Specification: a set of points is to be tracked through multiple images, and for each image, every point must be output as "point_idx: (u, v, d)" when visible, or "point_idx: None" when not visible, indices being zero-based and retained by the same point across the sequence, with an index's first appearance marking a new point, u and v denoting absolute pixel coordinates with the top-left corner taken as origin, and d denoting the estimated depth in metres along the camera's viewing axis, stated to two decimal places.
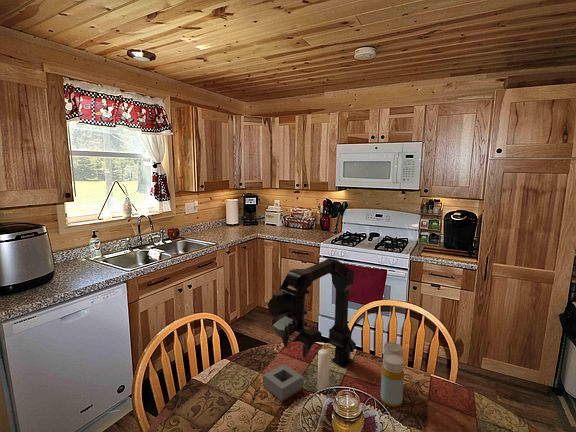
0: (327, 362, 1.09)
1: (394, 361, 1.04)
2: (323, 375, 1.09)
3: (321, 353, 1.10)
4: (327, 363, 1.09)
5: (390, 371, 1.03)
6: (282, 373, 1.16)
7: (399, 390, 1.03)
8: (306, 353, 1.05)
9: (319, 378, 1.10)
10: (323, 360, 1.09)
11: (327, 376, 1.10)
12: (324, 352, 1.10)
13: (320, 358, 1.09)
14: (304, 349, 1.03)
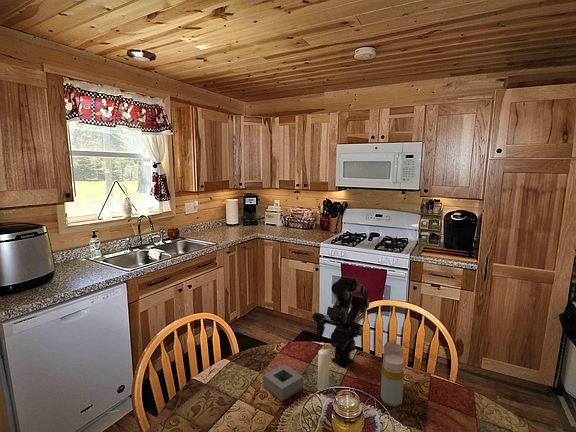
0: (327, 362, 1.09)
1: (394, 361, 1.04)
2: (323, 375, 1.09)
3: (321, 353, 1.10)
4: (327, 363, 1.09)
5: (390, 371, 1.03)
6: (282, 373, 1.16)
7: (399, 390, 1.03)
8: (345, 345, 1.14)
9: (319, 378, 1.10)
10: (323, 360, 1.09)
11: (327, 376, 1.10)
12: (324, 352, 1.10)
13: (320, 358, 1.09)
14: (346, 339, 1.14)
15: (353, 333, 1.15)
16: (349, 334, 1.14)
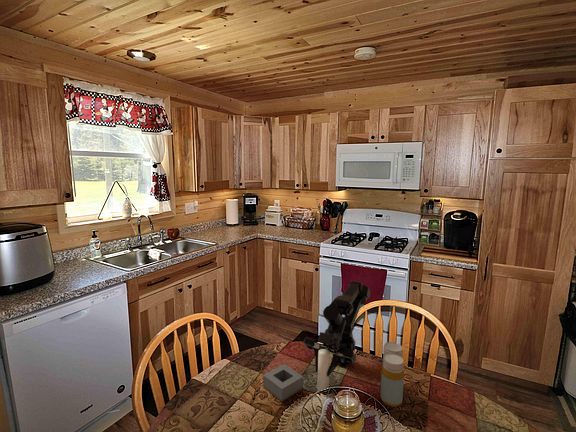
0: (327, 362, 1.09)
1: (394, 361, 1.04)
2: (323, 375, 1.09)
3: (321, 353, 1.10)
4: (327, 363, 1.09)
5: (390, 371, 1.03)
6: (282, 373, 1.16)
7: (399, 390, 1.03)
8: (331, 371, 1.10)
9: (319, 378, 1.10)
10: (323, 359, 1.09)
11: (327, 376, 1.10)
12: (324, 352, 1.10)
13: (320, 358, 1.09)
14: (332, 365, 1.10)
15: (339, 358, 1.11)
16: (335, 360, 1.10)
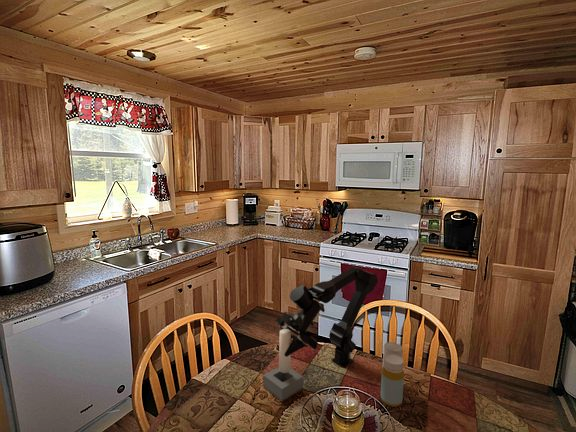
0: (285, 342, 1.08)
1: (394, 361, 1.04)
2: (281, 354, 1.09)
3: (281, 332, 1.10)
4: (285, 343, 1.08)
5: (390, 371, 1.03)
6: (282, 373, 1.16)
7: (399, 390, 1.03)
8: (289, 352, 1.08)
9: (279, 357, 1.10)
10: (281, 338, 1.08)
11: None
12: (285, 332, 1.10)
13: (279, 336, 1.09)
14: (291, 346, 1.08)
15: (299, 341, 1.08)
16: (294, 341, 1.08)
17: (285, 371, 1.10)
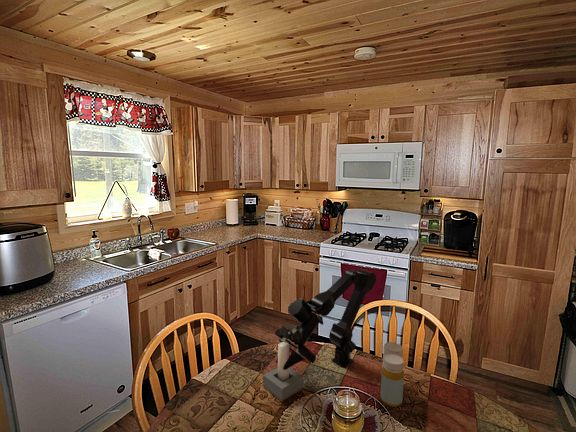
0: (284, 355, 1.09)
1: (394, 361, 1.04)
2: (280, 367, 1.10)
3: (280, 345, 1.10)
4: (284, 356, 1.09)
5: (390, 371, 1.03)
6: None
7: (399, 390, 1.03)
8: (288, 366, 1.09)
9: (278, 370, 1.11)
10: (280, 352, 1.09)
11: None
12: (283, 345, 1.11)
13: (278, 350, 1.10)
14: (289, 359, 1.09)
15: (297, 355, 1.09)
16: (293, 355, 1.09)
17: None
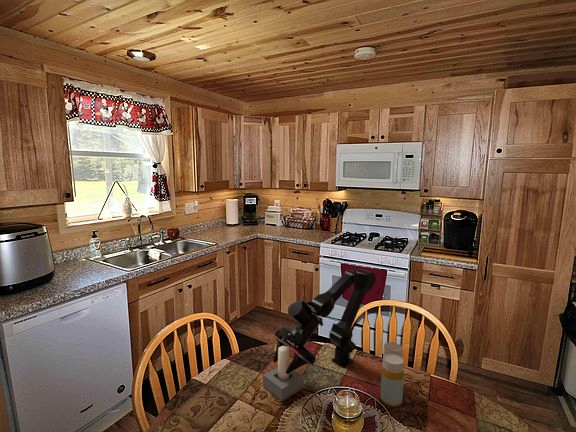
0: (284, 359, 1.09)
1: (394, 361, 1.04)
2: (280, 371, 1.10)
3: (280, 349, 1.11)
4: (284, 360, 1.09)
5: (390, 371, 1.03)
6: None
7: (399, 390, 1.03)
8: (290, 369, 1.08)
9: (278, 373, 1.12)
10: (280, 356, 1.10)
11: (284, 373, 1.10)
12: (284, 349, 1.11)
13: (278, 353, 1.10)
14: (292, 363, 1.08)
15: (300, 359, 1.07)
16: (295, 359, 1.07)
17: None
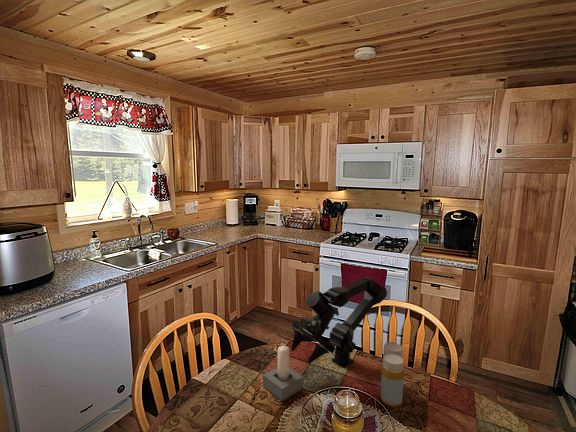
0: (283, 359, 1.09)
1: (394, 361, 1.04)
2: (280, 371, 1.10)
3: (279, 349, 1.11)
4: (283, 360, 1.09)
5: (390, 371, 1.03)
6: None
7: (399, 390, 1.03)
8: (312, 359, 1.11)
9: None
10: (279, 356, 1.10)
11: (284, 373, 1.10)
12: (283, 349, 1.11)
13: (278, 354, 1.10)
14: (314, 353, 1.11)
15: (322, 349, 1.11)
16: (317, 349, 1.11)
17: None
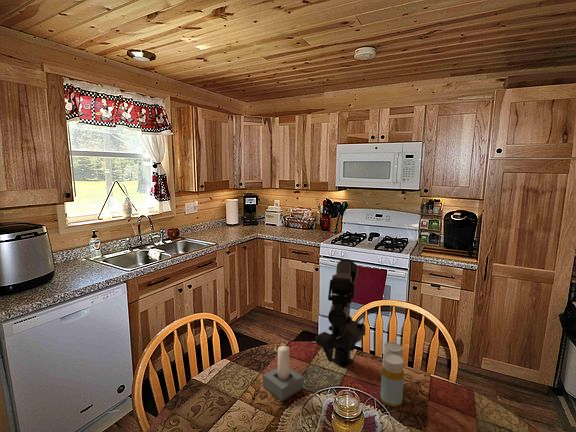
0: (283, 359, 1.09)
1: (394, 361, 1.04)
2: (280, 371, 1.10)
3: (279, 349, 1.11)
4: (284, 360, 1.09)
5: (390, 371, 1.03)
6: None
7: (399, 390, 1.03)
8: None
9: None
10: (280, 356, 1.10)
11: (284, 373, 1.10)
12: (283, 349, 1.11)
13: (278, 353, 1.11)
14: None
15: None
16: None
17: None
